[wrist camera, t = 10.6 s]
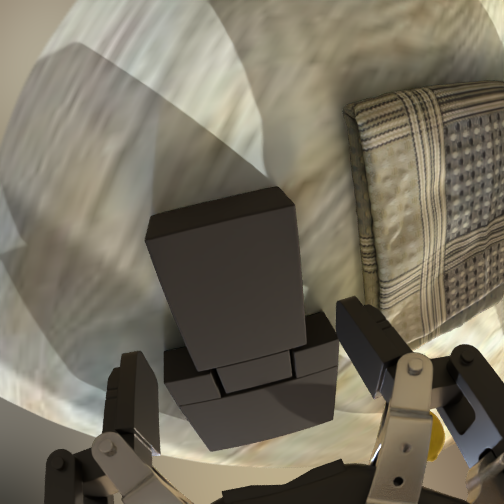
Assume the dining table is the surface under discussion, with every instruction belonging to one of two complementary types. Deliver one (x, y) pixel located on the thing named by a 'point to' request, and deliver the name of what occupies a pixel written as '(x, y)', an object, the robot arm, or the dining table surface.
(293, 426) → the notch pad
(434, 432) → the lemon
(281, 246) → the pad
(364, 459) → the dining table surface
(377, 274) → the dish towel
